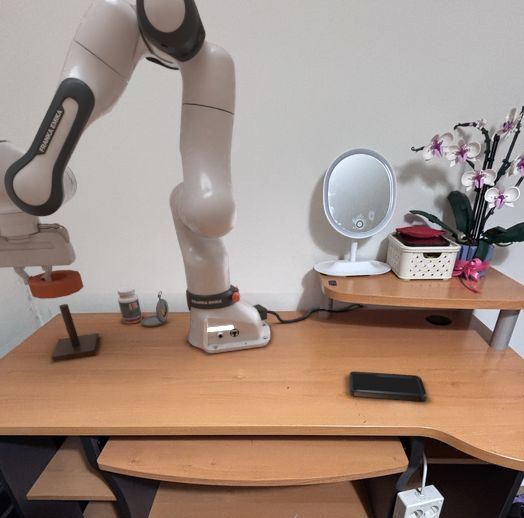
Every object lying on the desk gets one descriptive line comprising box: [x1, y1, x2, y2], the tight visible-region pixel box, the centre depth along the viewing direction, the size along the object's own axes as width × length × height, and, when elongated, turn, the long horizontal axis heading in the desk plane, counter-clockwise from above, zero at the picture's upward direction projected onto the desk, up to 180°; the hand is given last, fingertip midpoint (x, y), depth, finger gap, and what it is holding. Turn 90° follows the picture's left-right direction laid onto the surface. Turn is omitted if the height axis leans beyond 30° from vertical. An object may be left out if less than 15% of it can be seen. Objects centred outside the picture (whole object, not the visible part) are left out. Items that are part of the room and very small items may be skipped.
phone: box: [348, 370, 427, 402], centre depth 80 cm, size 8×1×15 cm
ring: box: [27, 269, 84, 300], centre depth 91 cm, size 11×11×3 cm
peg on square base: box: [51, 303, 100, 362], centre depth 97 cm, size 10×10×12 cm
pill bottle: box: [117, 286, 143, 325], centre depth 112 cm, size 6×6×10 cm
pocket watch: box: [140, 291, 169, 328], centre depth 109 cm, size 8×8×10 cm
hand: (38, 283), depth 91 cm, fingers closed on ring, 3 cm apart
